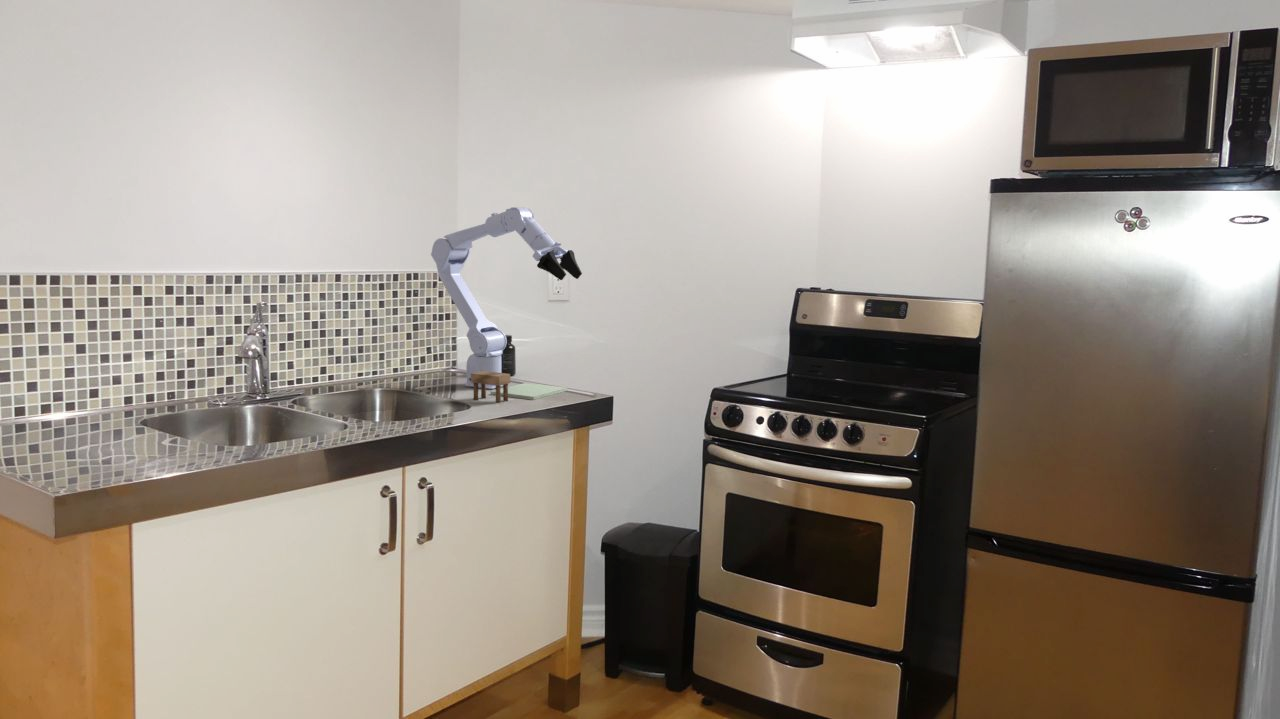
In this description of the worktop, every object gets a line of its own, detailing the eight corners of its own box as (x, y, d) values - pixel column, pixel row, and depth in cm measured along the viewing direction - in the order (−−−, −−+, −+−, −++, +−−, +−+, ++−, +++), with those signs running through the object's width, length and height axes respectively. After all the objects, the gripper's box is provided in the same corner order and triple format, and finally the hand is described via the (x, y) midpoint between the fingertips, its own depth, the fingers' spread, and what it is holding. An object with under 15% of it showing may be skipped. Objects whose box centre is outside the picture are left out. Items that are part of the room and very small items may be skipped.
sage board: (490, 394, 260) (490, 391, 260) (525, 385, 274) (525, 382, 274) (533, 399, 253) (533, 396, 253) (566, 390, 267) (566, 387, 267)
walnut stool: (471, 399, 252) (471, 373, 251) (482, 396, 256) (482, 370, 255) (499, 403, 248) (498, 376, 247) (510, 400, 252) (510, 374, 251)
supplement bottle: (517, 373, 294) (517, 334, 293) (512, 377, 288) (512, 337, 286) (495, 372, 295) (495, 333, 293) (490, 376, 288) (489, 336, 287)
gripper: (532, 230, 250) (564, 266, 246) (563, 230, 262) (594, 264, 259) (517, 250, 253) (549, 286, 249) (548, 249, 265) (579, 283, 262)
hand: (571, 276), depth 254 cm, fingers open, 7 cm apart
